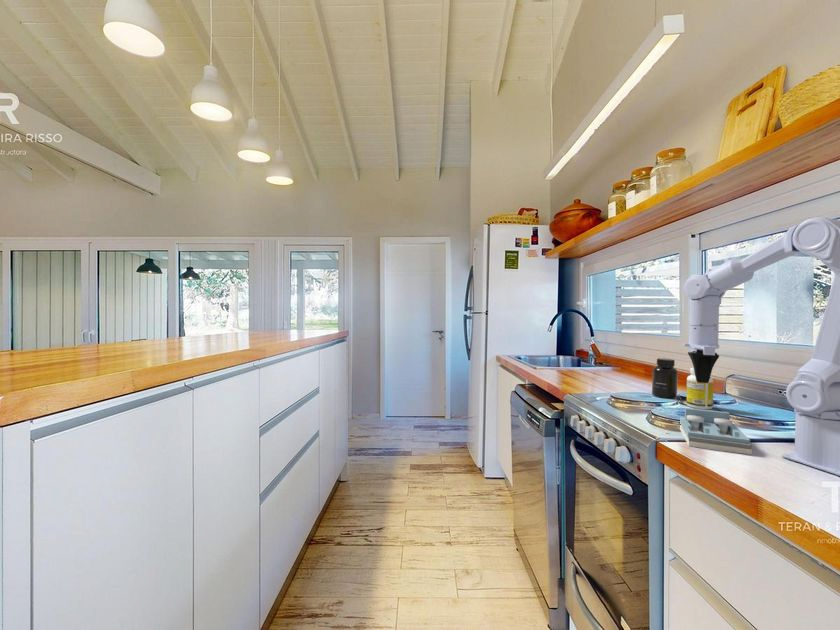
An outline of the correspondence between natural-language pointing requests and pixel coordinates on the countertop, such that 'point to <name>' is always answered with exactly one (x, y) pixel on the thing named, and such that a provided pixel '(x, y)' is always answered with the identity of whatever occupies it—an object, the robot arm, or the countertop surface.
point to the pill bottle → (699, 393)
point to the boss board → (715, 444)
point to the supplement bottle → (665, 379)
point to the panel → (712, 426)
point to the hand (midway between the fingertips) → (702, 382)
